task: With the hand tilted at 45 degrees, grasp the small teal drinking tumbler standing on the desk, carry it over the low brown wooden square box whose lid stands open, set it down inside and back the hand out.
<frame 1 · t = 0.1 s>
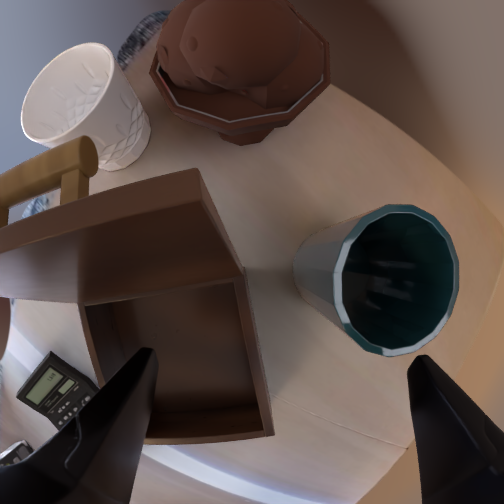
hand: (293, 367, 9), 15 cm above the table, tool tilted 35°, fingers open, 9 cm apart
white cup: (119, 138, 24), on the table
brown wooden square box: (185, 351, 23), on the table
teal drinking tumbler: (333, 269, 24), on the table
chest lid: (93, 240, 12), point 12 cm above the table, hinge at 100.0°
tape cartridge: (39, 465, 23), on the table
ice cream bowl: (244, 118, 24), on the table
calculator: (79, 409, 24), on the table
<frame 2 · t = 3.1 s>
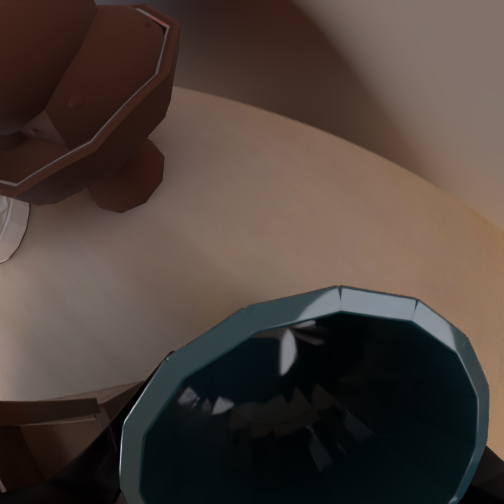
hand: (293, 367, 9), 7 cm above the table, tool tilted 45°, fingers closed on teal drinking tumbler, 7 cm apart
white cup: (4, 223, 17), on the table
brown wooden square box: (102, 477, 13), on the table
teal drinking tumbler: (272, 371, 15), on the table, touching gripper
ice cream bowl: (126, 174, 18), on the table
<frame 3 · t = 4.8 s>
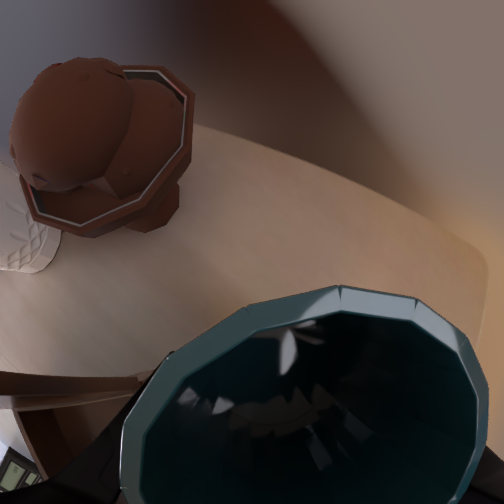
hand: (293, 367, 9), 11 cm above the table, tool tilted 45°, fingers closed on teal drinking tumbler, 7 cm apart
white cup: (37, 237, 21), on the table
brown wooden square box: (127, 451, 18), on the table
teal drinking tumbler: (272, 371, 15), point 5 cm above the table, touching gripper
ice cream bowl: (147, 200, 22), on the table
calculator: (49, 498, 16), on the table
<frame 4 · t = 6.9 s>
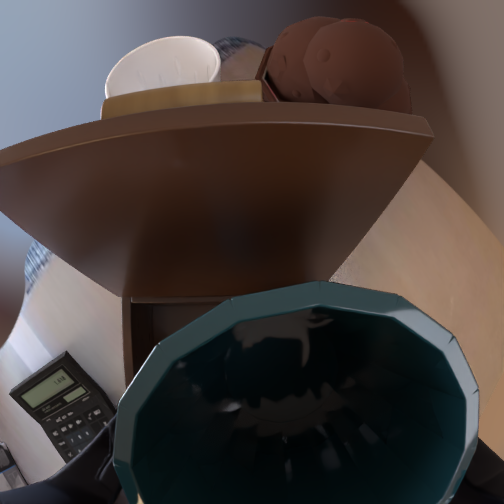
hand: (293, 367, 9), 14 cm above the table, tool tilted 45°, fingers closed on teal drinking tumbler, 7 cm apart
white cup: (185, 146, 26), on the table
brown wooden square box: (226, 374, 21), on the table
teal drinking tumbler: (281, 369, 15), point 7 cm above the table, touching gripper
chest lid: (197, 210, 12), point 12 cm above the table, hinge at 100.4°
tape cartridge: (15, 473, 17), on the table
ice cream bowl: (312, 151, 26), on the table
calculator: (81, 422, 20), on the table
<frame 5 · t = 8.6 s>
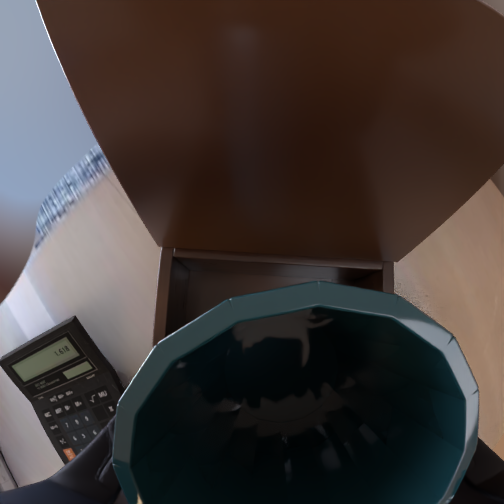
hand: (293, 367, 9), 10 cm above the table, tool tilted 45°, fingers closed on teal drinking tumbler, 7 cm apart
brown wooden square box: (268, 359, 19), on the table
teal drinking tumbler: (281, 369, 15), point 3 cm above the table, touching gripper
chest lid: (306, 127, 9), point 12 cm above the table, hinge at 100.4°
calculator: (80, 405, 17), on the table
when the fingers open (8 cm above the table, at t = 9.9 s): teal drinking tumbler stays where it is, resting on brown wooden square box.
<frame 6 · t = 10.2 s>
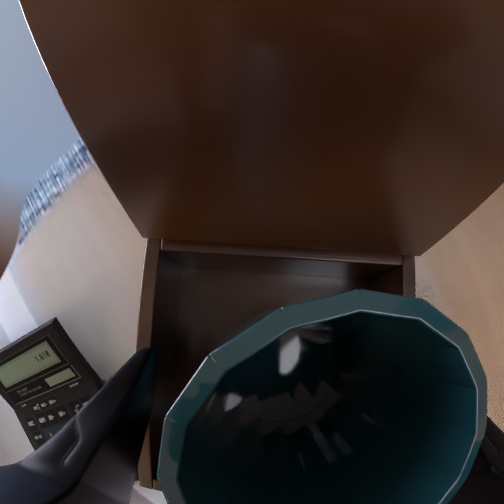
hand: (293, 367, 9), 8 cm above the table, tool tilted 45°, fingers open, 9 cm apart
brown wooden square box: (270, 368, 16), on the table
teal drinking tumbler: (280, 369, 16), point 1 cm above the table, touching brown wooden square box
chest lid: (320, 84, 7), point 12 cm above the table, hinge at 100.4°
calculator: (65, 414, 15), on the table
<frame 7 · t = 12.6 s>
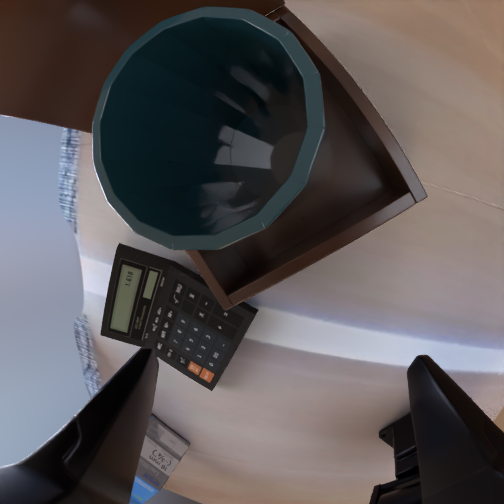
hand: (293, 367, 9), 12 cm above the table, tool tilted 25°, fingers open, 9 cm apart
brown wooden square box: (275, 158, 19), on the table
teal drinking tumbler: (278, 152, 18), point 1 cm above the table, touching brown wooden square box
tape cartridge: (158, 425, 30), on the table
calculator: (176, 315, 24), on the table
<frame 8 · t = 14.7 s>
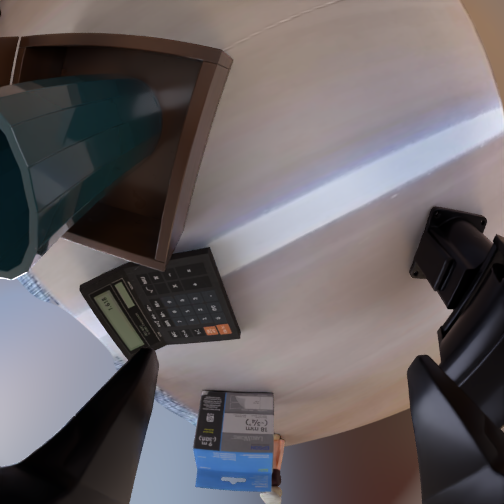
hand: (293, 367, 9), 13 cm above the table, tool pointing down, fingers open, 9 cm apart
grandmother figurine: (273, 436, 41), on the table
brown wooden square box: (119, 129, 17), on the table
teal drinking tumbler: (115, 123, 16), point 1 cm above the table, touching brown wooden square box
tape cartridge: (238, 397, 34), on the table
calculator: (165, 301, 25), on the table
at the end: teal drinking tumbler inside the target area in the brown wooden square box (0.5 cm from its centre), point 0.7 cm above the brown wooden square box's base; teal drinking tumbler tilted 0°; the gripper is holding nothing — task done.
